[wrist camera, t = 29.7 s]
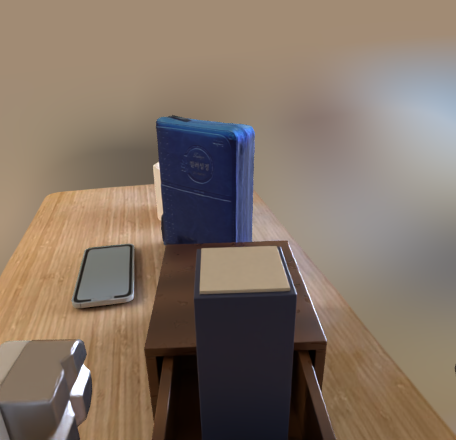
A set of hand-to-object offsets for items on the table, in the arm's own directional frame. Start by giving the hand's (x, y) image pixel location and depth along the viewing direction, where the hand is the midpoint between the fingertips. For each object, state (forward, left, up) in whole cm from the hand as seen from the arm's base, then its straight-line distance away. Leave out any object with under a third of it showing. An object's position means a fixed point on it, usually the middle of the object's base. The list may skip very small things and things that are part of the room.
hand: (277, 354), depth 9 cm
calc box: (-8, +8, -21) cm, 24 cm away
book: (-35, +31, -23) cm, 52 cm away
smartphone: (-41, +18, -23) cm, 50 cm away
